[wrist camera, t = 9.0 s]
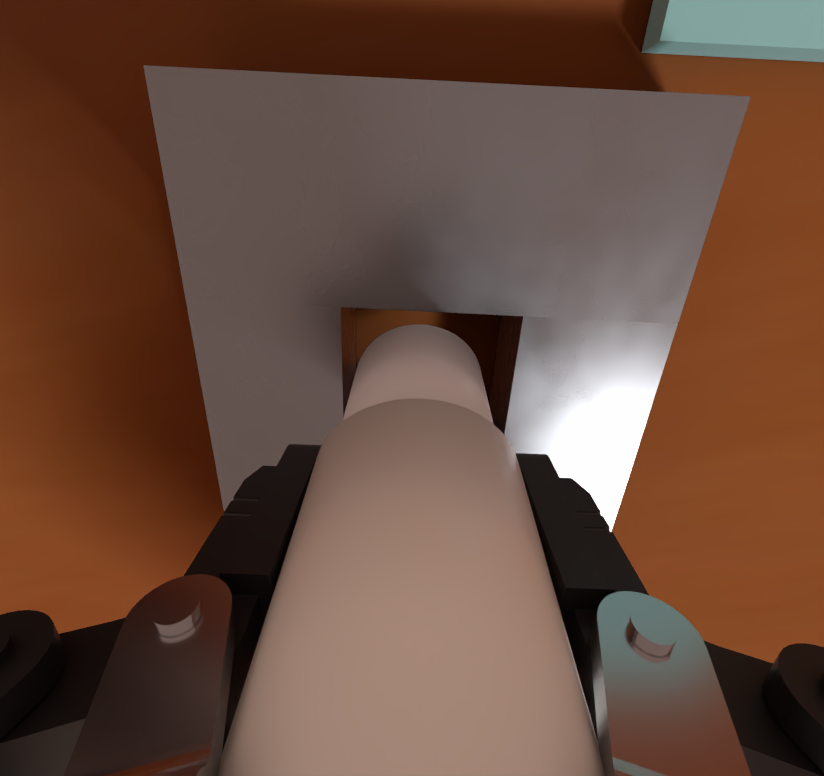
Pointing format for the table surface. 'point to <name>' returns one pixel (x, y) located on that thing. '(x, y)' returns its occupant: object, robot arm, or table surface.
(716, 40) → the teal square tile
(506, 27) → the table surface
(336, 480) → the cream rounded tapered piece
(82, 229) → the table surface
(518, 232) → the socket block
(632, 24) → the table surface
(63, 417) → the table surface
